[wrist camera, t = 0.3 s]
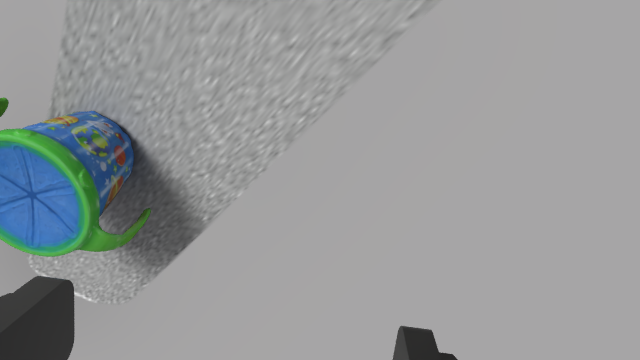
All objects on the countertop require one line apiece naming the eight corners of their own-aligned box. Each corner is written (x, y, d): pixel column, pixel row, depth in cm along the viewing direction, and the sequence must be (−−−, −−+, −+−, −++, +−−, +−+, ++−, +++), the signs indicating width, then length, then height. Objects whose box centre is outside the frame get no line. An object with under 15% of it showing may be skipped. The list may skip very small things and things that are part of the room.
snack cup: (3, 120, 46) (-94, 167, 37) (59, 45, 42) (-35, 78, 33) (131, 232, 50) (71, 299, 41) (195, 173, 46) (143, 234, 37)
